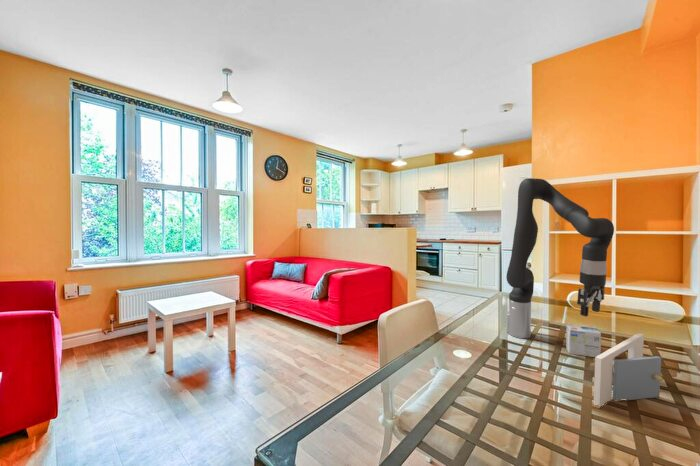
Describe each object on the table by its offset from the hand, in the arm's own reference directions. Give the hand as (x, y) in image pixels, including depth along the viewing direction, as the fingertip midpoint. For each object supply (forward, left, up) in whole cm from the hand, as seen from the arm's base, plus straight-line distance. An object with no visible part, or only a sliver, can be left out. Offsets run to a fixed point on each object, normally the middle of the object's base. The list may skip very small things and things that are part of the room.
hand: (589, 313), depth 110 cm
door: (+17, -9, -21) cm, 29 cm away
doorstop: (+10, -3, -22) cm, 24 cm away
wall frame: (+12, -7, -22) cm, 26 cm away
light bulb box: (-7, +12, -22) cm, 26 cm away
